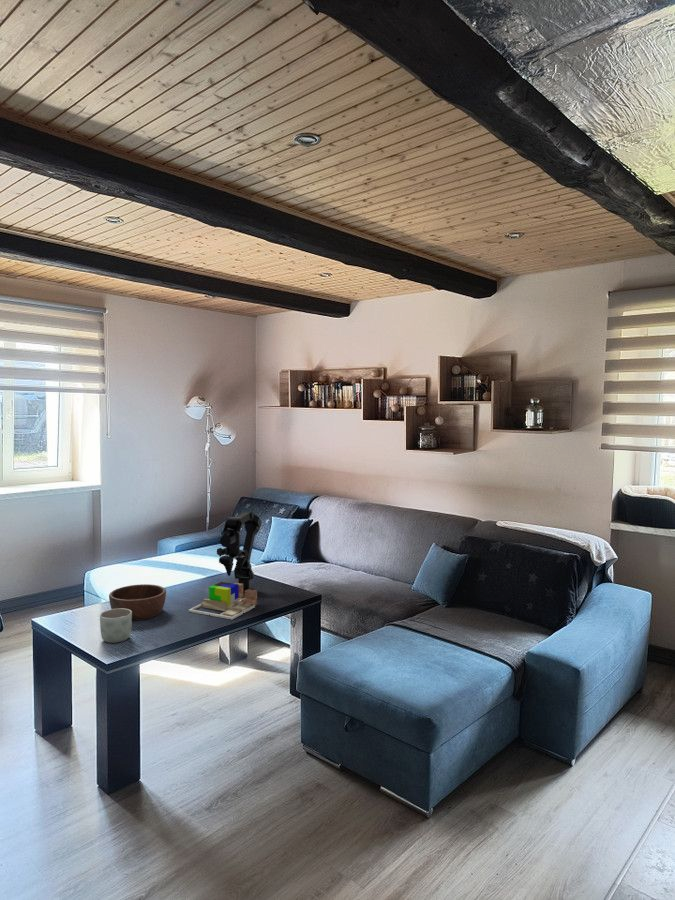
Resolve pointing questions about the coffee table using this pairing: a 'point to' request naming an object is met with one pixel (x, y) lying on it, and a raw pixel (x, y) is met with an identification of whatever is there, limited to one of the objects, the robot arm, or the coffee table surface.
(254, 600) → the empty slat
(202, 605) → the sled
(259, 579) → the coffee table surface
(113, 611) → the planter
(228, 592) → the puzzle toy
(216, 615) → the frame
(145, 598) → the wooden bowl
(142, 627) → the coffee table surface
